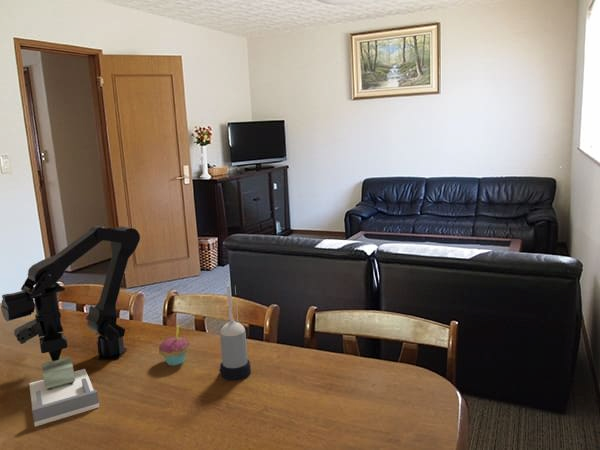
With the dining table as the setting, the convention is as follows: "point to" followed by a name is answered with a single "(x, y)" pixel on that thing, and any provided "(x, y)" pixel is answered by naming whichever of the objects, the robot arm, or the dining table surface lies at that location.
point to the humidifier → (233, 348)
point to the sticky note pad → (58, 373)
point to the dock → (62, 399)
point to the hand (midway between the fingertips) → (55, 363)
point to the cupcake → (174, 349)
